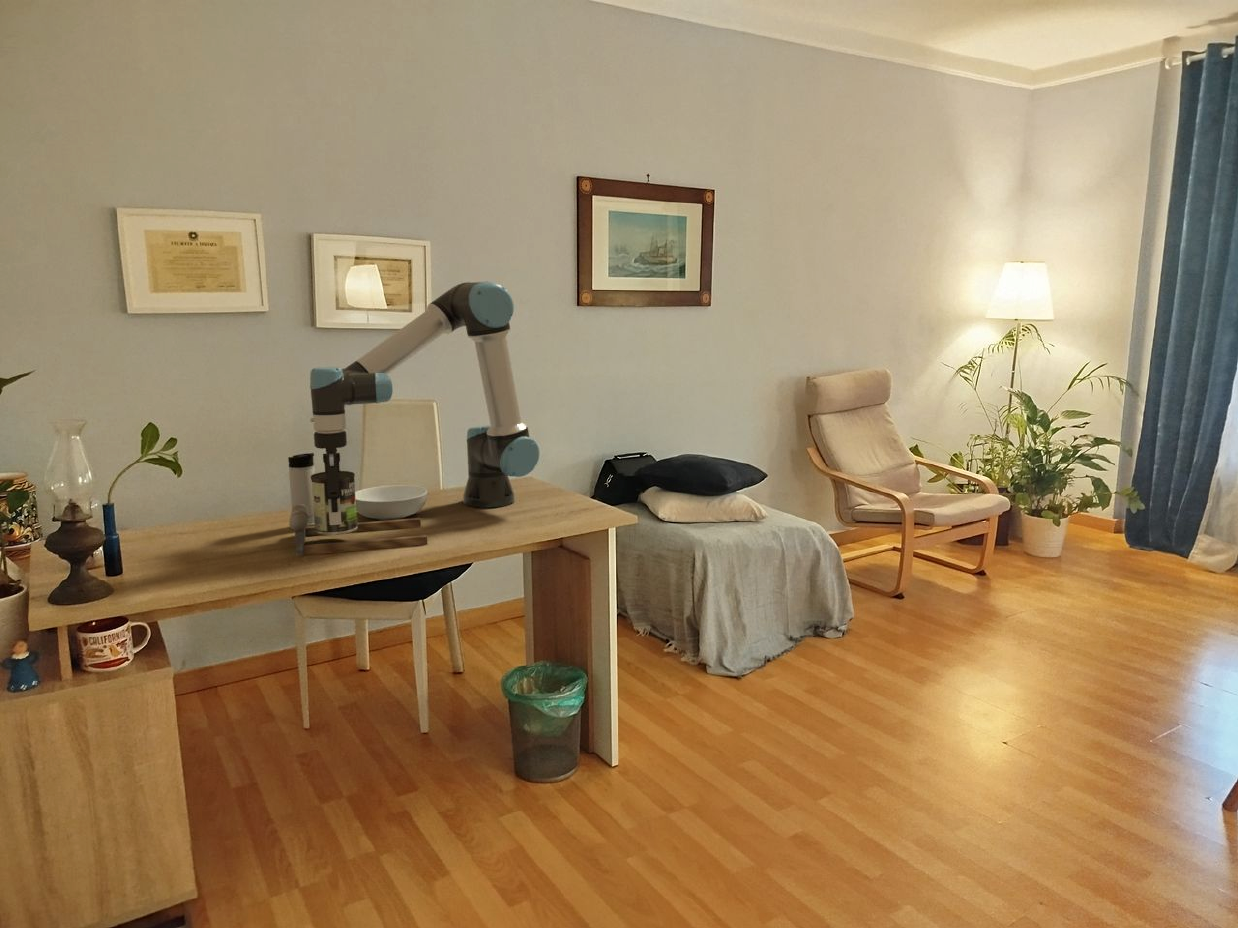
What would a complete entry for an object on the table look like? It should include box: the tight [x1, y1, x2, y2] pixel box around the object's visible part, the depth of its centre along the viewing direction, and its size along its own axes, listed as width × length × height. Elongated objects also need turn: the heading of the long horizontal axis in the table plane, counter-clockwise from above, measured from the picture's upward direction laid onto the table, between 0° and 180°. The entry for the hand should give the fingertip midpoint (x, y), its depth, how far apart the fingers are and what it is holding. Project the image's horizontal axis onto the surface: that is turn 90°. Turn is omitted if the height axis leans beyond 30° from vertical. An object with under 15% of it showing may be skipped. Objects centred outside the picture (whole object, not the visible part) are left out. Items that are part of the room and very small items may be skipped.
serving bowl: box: [355, 484, 429, 521], centre depth 238 cm, size 21×21×7 cm
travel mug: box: [287, 452, 316, 527], centre depth 225 cm, size 6×7×20 cm
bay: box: [289, 504, 428, 557], centre depth 214 cm, size 32×19×9 cm, turn 108°
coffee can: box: [311, 470, 358, 536], centre depth 212 cm, size 10×10×14 cm
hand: (335, 519), depth 212 cm, fingers closed on coffee can, 10 cm apart
